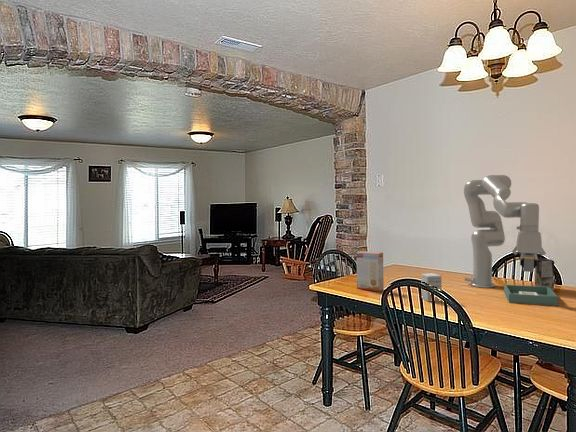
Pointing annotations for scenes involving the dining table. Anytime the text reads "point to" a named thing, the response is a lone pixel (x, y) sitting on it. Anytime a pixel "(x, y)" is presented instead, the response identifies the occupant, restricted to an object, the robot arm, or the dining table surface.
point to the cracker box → (370, 271)
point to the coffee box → (544, 273)
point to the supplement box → (433, 281)
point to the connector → (528, 262)
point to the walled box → (530, 295)
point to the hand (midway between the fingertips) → (528, 267)
